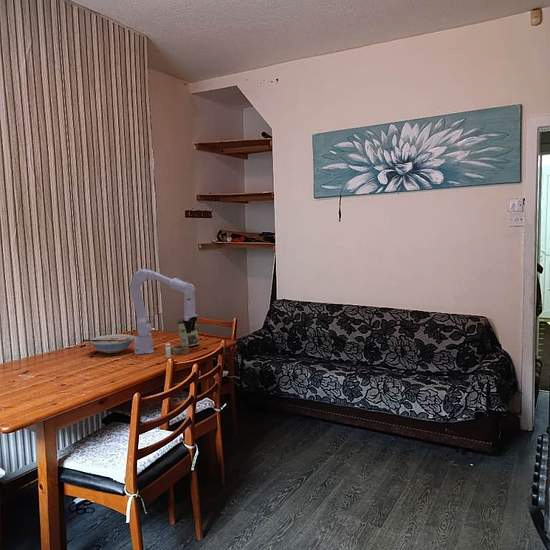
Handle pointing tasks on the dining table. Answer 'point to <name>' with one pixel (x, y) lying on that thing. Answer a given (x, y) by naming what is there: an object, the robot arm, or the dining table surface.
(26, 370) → the dining table surface
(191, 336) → the coffee can
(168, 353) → the white banded cylinder
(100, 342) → the ramen bowl
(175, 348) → the square wooden frame
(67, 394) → the dining table surface
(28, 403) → the dining table surface
